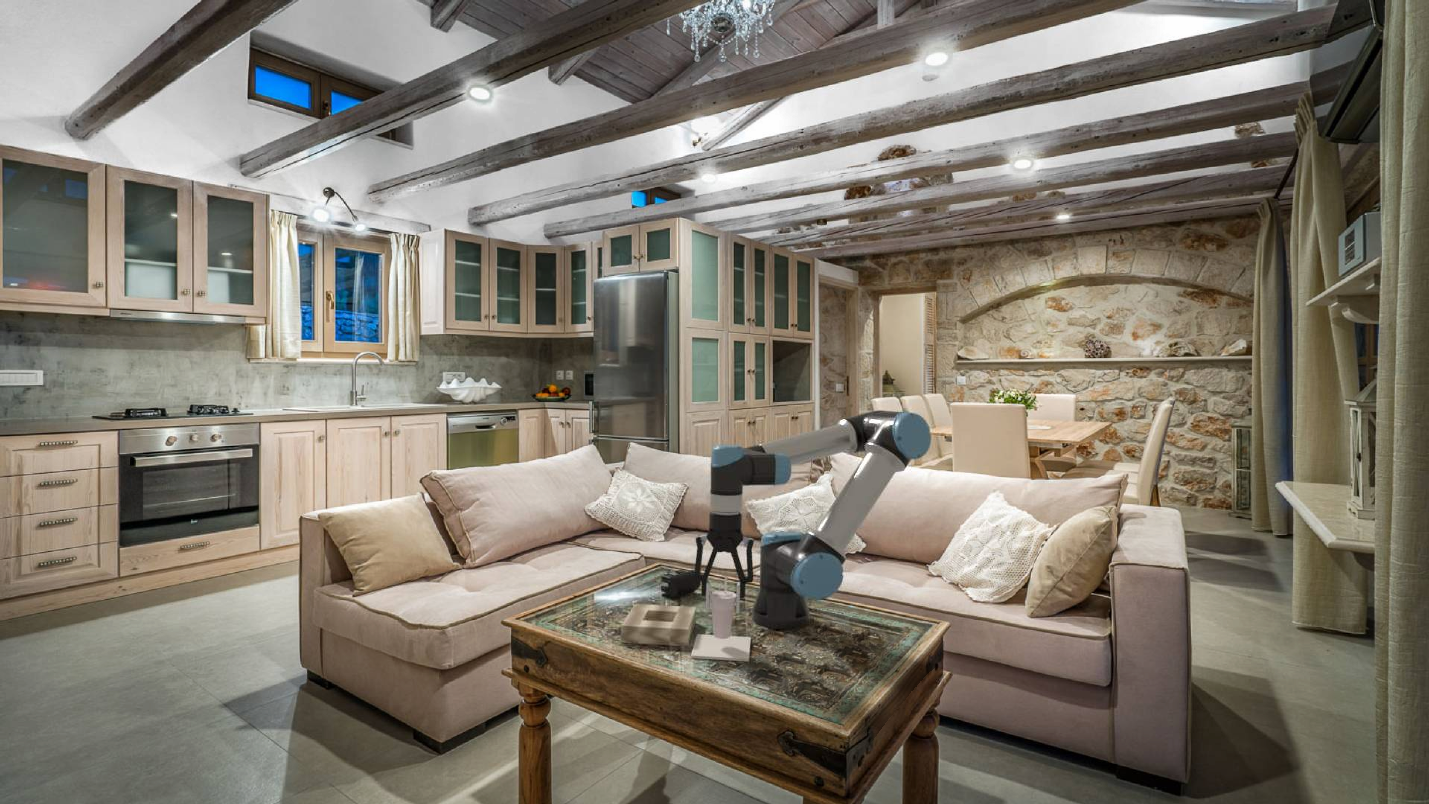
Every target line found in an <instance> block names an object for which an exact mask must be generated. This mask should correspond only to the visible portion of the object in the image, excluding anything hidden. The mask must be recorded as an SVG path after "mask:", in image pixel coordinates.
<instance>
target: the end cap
mask: <svg viewBox="0 0 1429 804" xmlns="http://www.w3.org/2000/svg"><path fill="white" fill-rule="evenodd" d="M694 572H695V569H691V570H683V569H679V570H676V571H675V574H672V573H670V572H668V573H664V574H662V575H661V579H660V581H661V582H662V583H665V584H667V586H665V585H660V591H661V592H662V593H661V597H663V598H666V599H669V600H673V599H677V598H680V597H683V596H686V595H689V594H692V593H695V592H696V591H697V590H699V589H700V587H701V585H702V583H701V581H700V580H696V579H694Z"/></svg>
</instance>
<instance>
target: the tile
mask: <svg viewBox="0 0 1429 804" xmlns="http://www.w3.org/2000/svg"><path fill="white" fill-rule="evenodd" d="M750 651H751V637H750V636H735V635H730V637H729V638H727V639H718V638H716V637H714V634H704V633H703V634H702V633H697V634H696V637H695V640H694V645H693V647H692V651H691V654H690V658H691V659H699V660H700V659H701V660H702V659H703V660H717V661H718V660H719V661H720V660H721V661H732V662H733V661H734V662H748V663H749V662H750Z"/></svg>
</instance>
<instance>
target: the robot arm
mask: <svg viewBox="0 0 1429 804" xmlns="http://www.w3.org/2000/svg"><path fill="white" fill-rule="evenodd" d="M931 443H932V434H931V429H930V426H929V424H928V422H927V420H926V419H925V418H924V417H923V416H922V415H920V414H919V413H915V412H910V411H907V410H904V411H893V410H873V411H868V412H865V413H861V414H858V415H855V416H851V417H847V418H844V419H840V420H839V421H838V422H837V424H835V425H830V426H827V427H824V428H819V429H815V430H812V431H807V432H803V433H800V434H795V435H792V436H788V437H784V438H779V439H775V440H772V441H769V442H764V443H760V444H755V445H752V446H748V447H743V445H737V444H717V445H715V446H713V448H712V449H711V456H710V490H709V492H710V493H709V510H710V512H709V514H708V515H709V516H708V517H709V523H708V524H709V525H708V531H707V534H704V535H701V534H698V535H697V536H696V537H695V543H696V547H697V548H696V555H695V563H694V564H695V566H694V570H695V572H694V579H696V580H700V581H701V591H700V592H701V593H700V594H701V596H702V597H705V612H707V613H709V612H710V609H711V600H710V599H709V598H710V593H711V584H712V583H711V581H712V580H709V576H710V574H711V570H712V568H713V565H714V563H715V559H716V557H717V554H718V553H729V554H730V555H731V558H732V561H733V563H734V567H735V571H736V574H737V577H738V581H737V582H736V593H735V594H736V601H735V614H740V611H741V606H740V605H741V599H745V597H746V584H749V583H750V584H751V583H753V581H754V566H753V563H754V562H753V546H754V544H755V543H754V542H755V539H754V538H753V537H747V536H744V534H743V532H742V521H743V514H742V513H741V511H743V493H744V490H743V489H744V486H746V487H748V486H774V487H775V486H781V485H785V484H787V483H788V482H789V481H790V479H791V476H792V466H795V465H796V466H797V465H799V464H803V463H807V462H811V461H814V460H818V459H822V458H826V457H830V456H835V455H837V454H841V453H846V454H847V455H853V454H855V453H863V452H864V453H865V456H864V457H862V460H861V461H860V463H859V464H858V465H857V467H856V468H855V470H854V471H853V473H852V474H851V476H850V478H849V479H848V480H847V481H846V483H845V485H844V486H843V487H842V489H841V491H840V492H839V494H838V495H837V496H836V499H835V500H834V501H833V503H832V504H831V506H830V507H829V508H828V510H827V512H825V514H824V516H823V517H822V519H821V521H820V522H819V523H818V525H817V527H816V528H815V529H813V530H807V531H806V532H805V533H804V532H798V531H773V532H766V533H764V534H763V535H762V536H761V540H760V545H759V548H760V557H759V559H760V561H759V590H758V593H757V595H756V599H755V601H754V604H753V607H752V610H751V611H752V612H751V613H752V615H751V618H752V621H754V622H755V623H757V625H760V626H762V627H766V628H771V629H776V630H777V629H778V630H795V629H799V628H800V629H801V628H803V627H802V626H804V627H805V625H806V626H808V625H809V624H810V621H809V620H811V619H810V617H811V616H810V614H811V613H810V609H809V606H808V602H807V599H809V600H812V601H821V600H822V601H823V600H826V599H829V598H830V597H831V596H833V595H834V594H836V593H837V591H838V590H839V589H840V587H841V586H842V583H843V580H844V574H843V573H844V568H843V565H844V563H845V562H846V560H847V557H846V548H847V547H848V545H850V543H851V541H852V539H853V538H854V536H855V535H856V533H857V532H858V530H859V529H860V527H861V526H862V524H863V523H864V521H865V520H866V518H867V516H869V513H870V512H871V510H872V509H873V507H874V506H875V504H876V502H877V501H878V500H879V499H880V497H881V495H882V493H884V491H885V489H886V488H887V486H888V485H889V483H890V481H891V479H893V477H894V475H895V474H896V473H899V472H900V473H901V472H904V471H905V470H906V469H907V467H908V465H909V464H910V462H911V461H912V460H918V459H920V458H922V457H924V456H925V455H926V454H927V453H928V451H929V449H930V446H931ZM707 541H708V543H709V544H710V545H711V547H712V550H711V553H710V556H709V559H708V562H707V564H706V567H705V570H704V573H701V571H702V570H701V569H702V564H703V562H702V561H703V554H704V545H706V543H707ZM742 542H743V546H744V548H746V550H745V551H746V552H745V553H746V571H747V572H746V573H747V575H746V576H745V573H744V570H743V566H742V562H741V560H740V556H739V551H738V549H737V548H738V547H739V545H740V544H741V543H742Z"/></svg>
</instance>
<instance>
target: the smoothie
mask: <svg viewBox="0 0 1429 804" xmlns="http://www.w3.org/2000/svg"><path fill="white" fill-rule="evenodd" d="M736 594H737V593H735V592H733V591H729V590H728V575H724V589H723V590H715V591H712V592H710V598H709V599H710V608H711V614H712V615H711V616H712V617H711V618H712V627H713V628H712V629H713V635H714V637H716V638H718V639H727V638H729V637H730V636H731V631H732V624H733V619H734V613H735V607H736Z"/></svg>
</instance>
